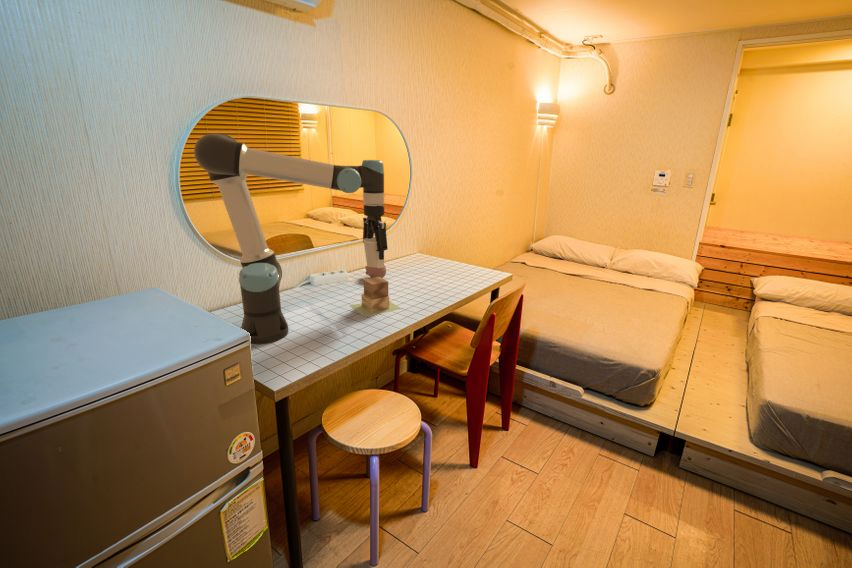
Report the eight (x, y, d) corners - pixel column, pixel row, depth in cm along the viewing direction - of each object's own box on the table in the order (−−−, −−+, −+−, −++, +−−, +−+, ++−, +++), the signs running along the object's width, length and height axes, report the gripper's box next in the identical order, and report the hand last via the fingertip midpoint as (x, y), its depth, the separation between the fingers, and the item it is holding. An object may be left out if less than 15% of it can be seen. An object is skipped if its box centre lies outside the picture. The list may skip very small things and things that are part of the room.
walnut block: (372, 299, 156) (371, 284, 154) (363, 293, 162) (363, 279, 160) (388, 296, 160) (388, 281, 158) (379, 290, 165) (379, 276, 164)
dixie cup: (364, 268, 152) (363, 242, 149) (362, 262, 160) (362, 237, 157) (386, 268, 154) (386, 241, 151) (384, 262, 161) (384, 236, 158)
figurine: (371, 274, 206) (371, 251, 202) (389, 278, 201) (389, 254, 197) (360, 279, 199) (359, 255, 195) (379, 283, 193) (378, 258, 190)
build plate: (364, 319, 153) (364, 316, 153) (349, 308, 163) (349, 305, 163) (401, 311, 162) (401, 308, 162) (385, 301, 172) (385, 298, 172)
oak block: (371, 312, 157) (370, 300, 155) (361, 305, 163) (361, 293, 162) (389, 308, 161) (389, 296, 160) (379, 302, 168) (379, 290, 166)
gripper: (397, 207, 143) (397, 270, 151) (370, 200, 160) (371, 257, 167) (378, 208, 139) (379, 273, 147) (352, 201, 156) (354, 259, 163)
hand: (375, 264), depth 157 cm, fingers closed on dixie cup, 8 cm apart
